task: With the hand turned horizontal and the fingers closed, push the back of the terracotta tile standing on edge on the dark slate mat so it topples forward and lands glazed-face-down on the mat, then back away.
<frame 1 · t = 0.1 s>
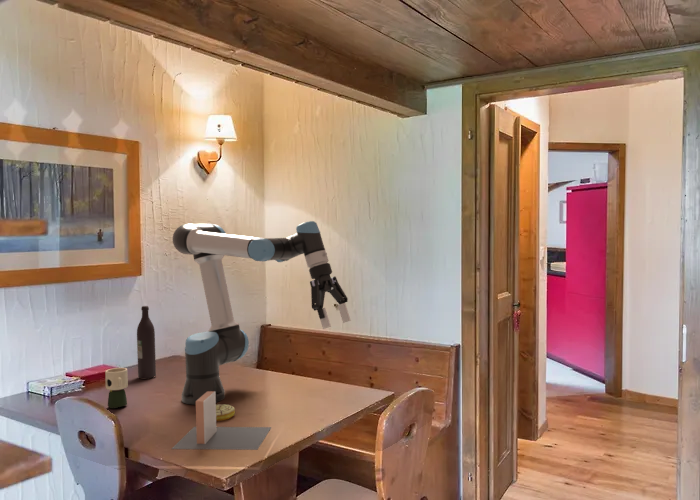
hand: (337, 324, 195), 28 cm above the table, tool tilted 20°, fingers open, 13 cm apart
slate mat: (223, 439, 166), on the table
decorated donut: (217, 419, 185), on the table
character mug: (117, 407, 200), on the table
wine bottle: (147, 377, 241), on the table
terracotta tile: (206, 437, 166), point 1 cm above the table, touching slate mat
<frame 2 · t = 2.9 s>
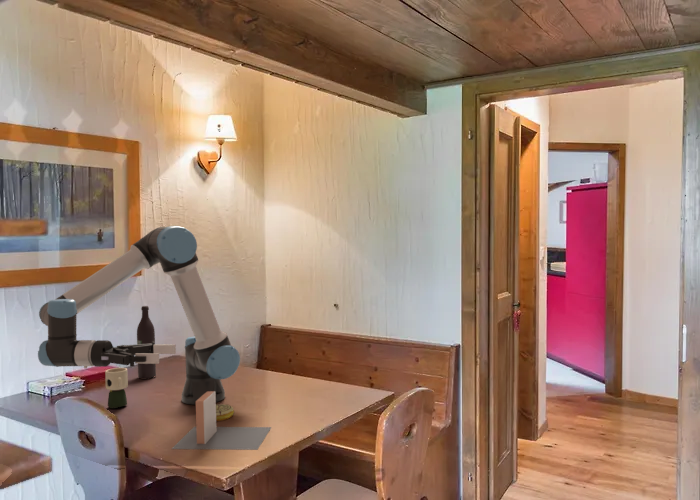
hand: (167, 353, 166), 25 cm above the table, tool horizontal, fingers open, 13 cm apart
nothing on the table moved.
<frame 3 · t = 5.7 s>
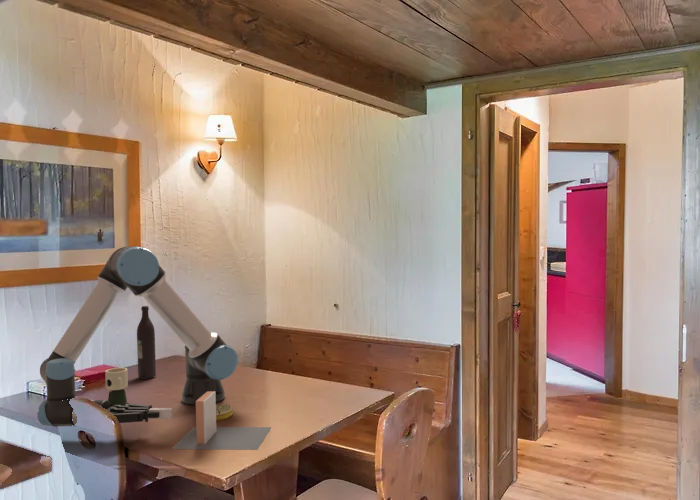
hand: (171, 413, 167), 8 cm above the table, tool horizontal, fingers closed
nothing on the table moved.
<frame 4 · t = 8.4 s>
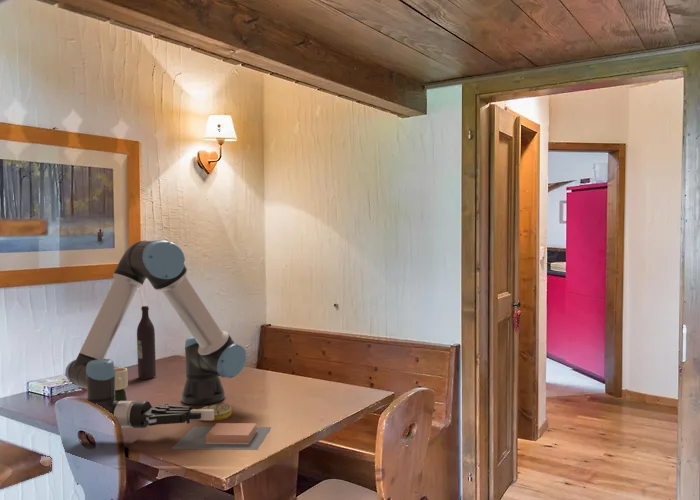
hand: (213, 414, 165), 7 cm above the table, tool horizontal, fingers closed
terracotta tile: (211, 433, 166), point 2 cm above the table, tilted 90°, touching slate mat
everything else where it was.
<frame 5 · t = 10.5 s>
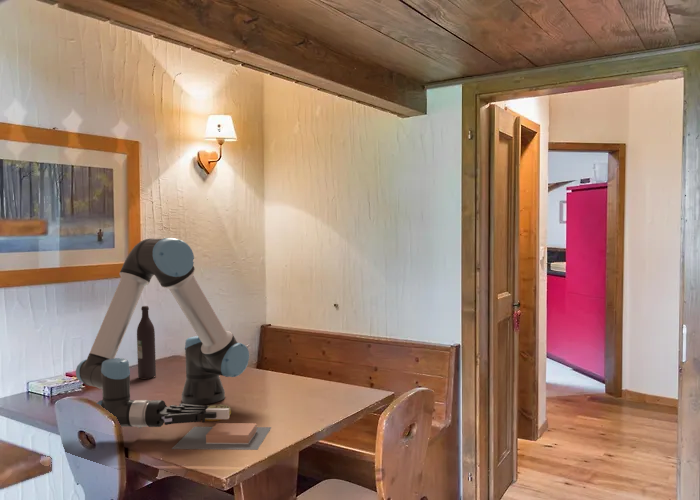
hand: (228, 413, 165), 7 cm above the table, tool horizontal, fingers closed
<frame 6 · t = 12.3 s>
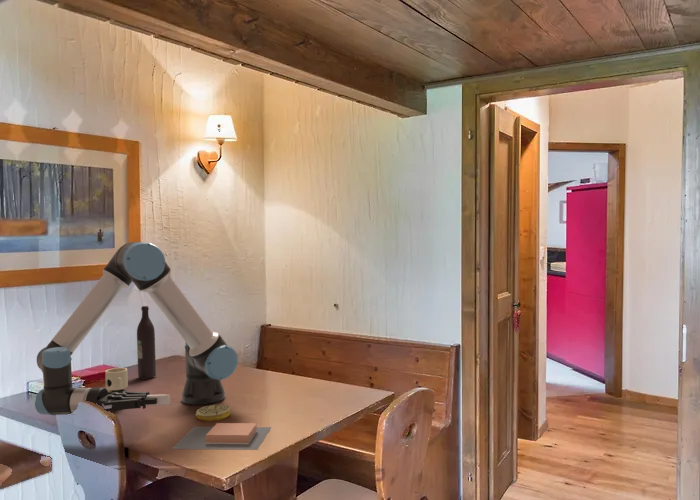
hand: (169, 399, 166), 12 cm above the table, tool horizontal, fingers closed
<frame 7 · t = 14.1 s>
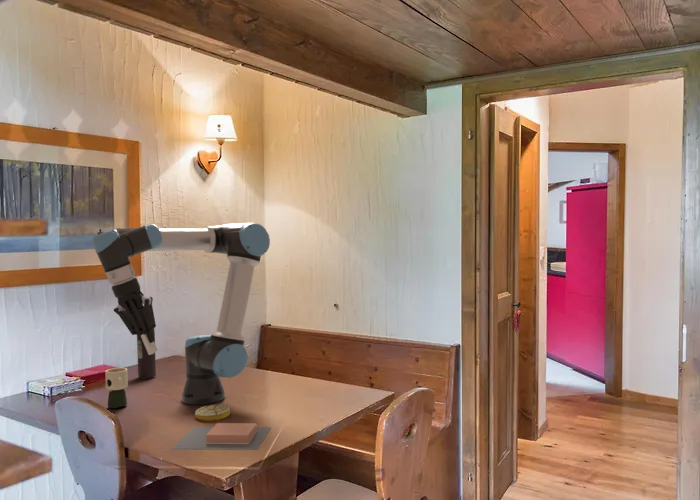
hand: (153, 352, 175), 24 cm above the table, tool tilted 20°, fingers closed
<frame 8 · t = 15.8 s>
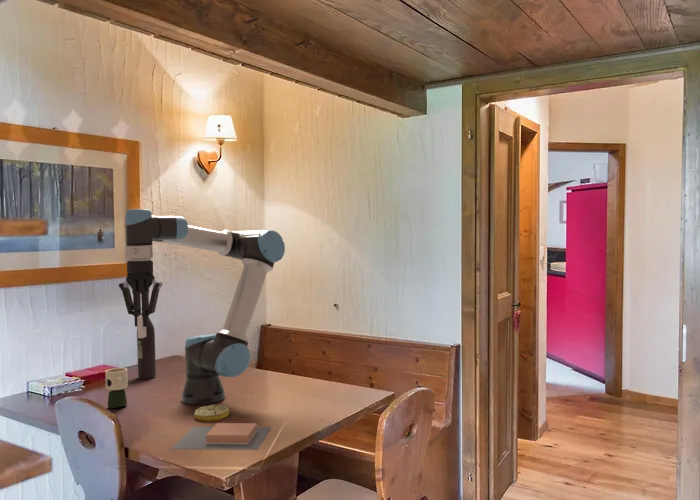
hand: (142, 337, 175), 28 cm above the table, tool pointing down, fingers closed
at the end: terracotta tile tilted 90°; terracotta tile 3.6 cm from the slate mat (horizontally); terracotta tile point 1.8 cm above the table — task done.
